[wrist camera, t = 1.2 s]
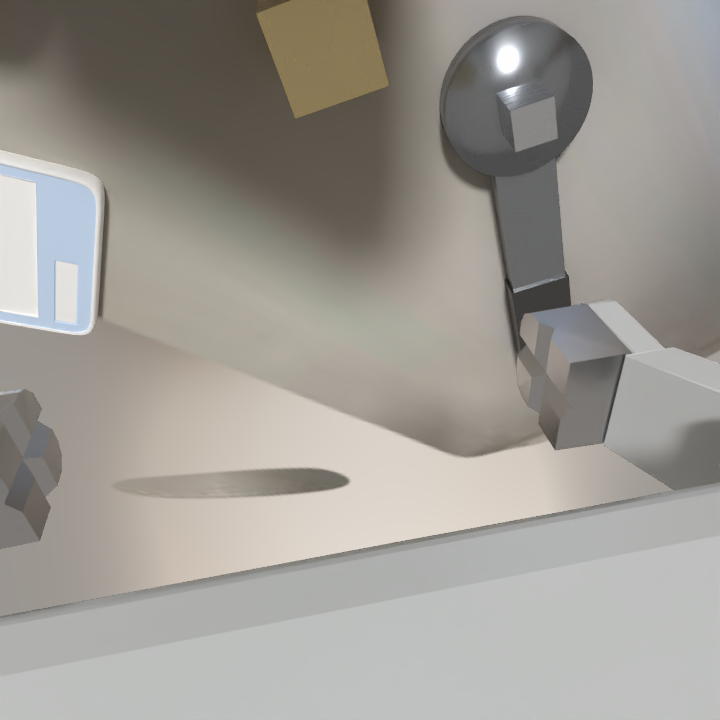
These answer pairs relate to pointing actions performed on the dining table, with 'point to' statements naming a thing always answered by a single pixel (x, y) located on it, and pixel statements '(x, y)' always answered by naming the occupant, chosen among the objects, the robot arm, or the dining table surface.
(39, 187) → the calculator
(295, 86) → the tan rectangular block
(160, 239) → the dining table surface
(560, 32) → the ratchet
